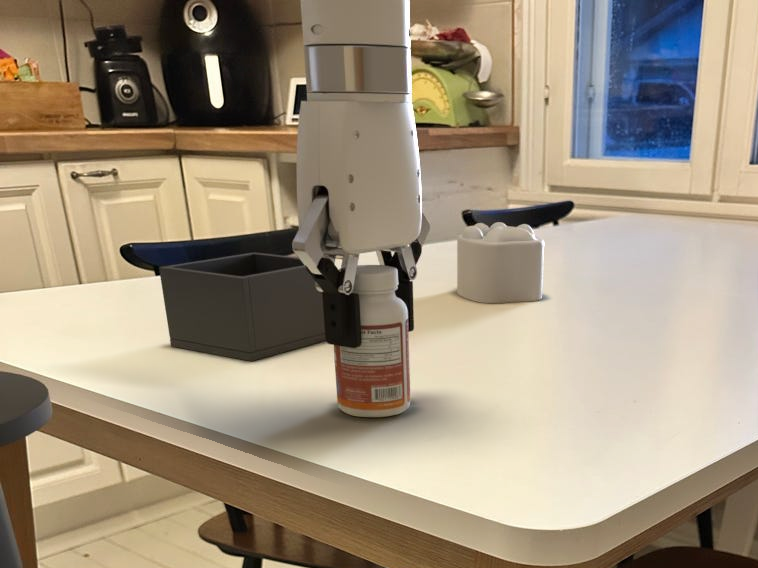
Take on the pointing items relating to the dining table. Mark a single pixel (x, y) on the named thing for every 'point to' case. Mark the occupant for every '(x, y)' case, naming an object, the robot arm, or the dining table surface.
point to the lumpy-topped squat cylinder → (499, 263)
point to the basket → (242, 305)
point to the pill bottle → (376, 349)
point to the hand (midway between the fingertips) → (370, 335)
